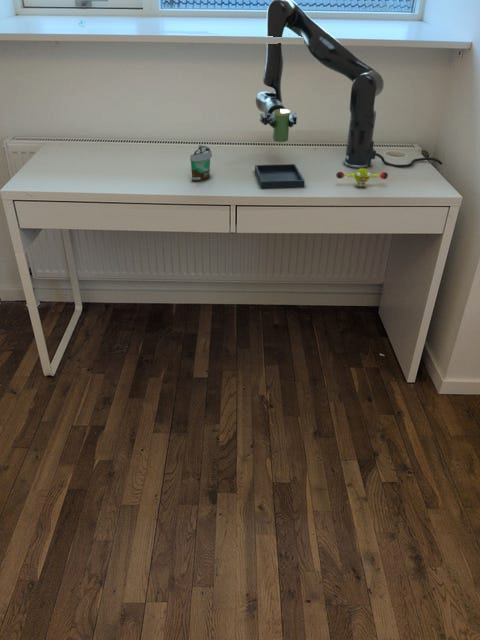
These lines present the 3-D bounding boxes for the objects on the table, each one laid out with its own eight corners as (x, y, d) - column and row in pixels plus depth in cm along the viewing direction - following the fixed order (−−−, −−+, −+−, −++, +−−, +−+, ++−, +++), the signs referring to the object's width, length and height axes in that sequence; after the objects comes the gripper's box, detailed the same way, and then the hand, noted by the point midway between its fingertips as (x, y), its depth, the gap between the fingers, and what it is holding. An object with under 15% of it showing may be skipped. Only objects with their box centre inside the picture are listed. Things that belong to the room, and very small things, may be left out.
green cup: (287, 137, 199) (288, 108, 193) (289, 141, 194) (291, 113, 188) (271, 137, 198) (272, 109, 193) (273, 142, 194) (275, 113, 188)
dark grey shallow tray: (294, 170, 204) (295, 164, 202) (303, 187, 190) (304, 180, 188) (254, 171, 202) (255, 165, 201) (261, 188, 188) (261, 181, 187)
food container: (207, 184, 191) (207, 156, 185) (191, 183, 192) (189, 155, 186) (216, 172, 201) (215, 145, 195) (200, 171, 202) (199, 144, 196)
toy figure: (336, 189, 188) (338, 170, 184) (334, 184, 193) (336, 165, 189) (387, 190, 189) (391, 171, 185) (384, 184, 193) (387, 166, 189)
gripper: (256, 101, 202) (262, 114, 188) (294, 101, 203) (303, 113, 189) (256, 122, 206) (262, 135, 192) (293, 121, 207) (301, 135, 194)
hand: (282, 124), depth 191 cm, fingers closed on green cup, 5 cm apart
